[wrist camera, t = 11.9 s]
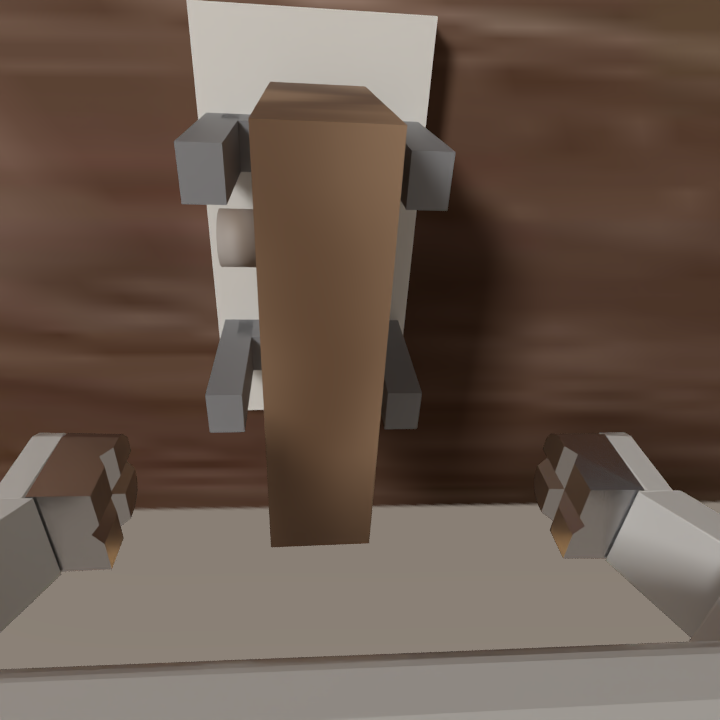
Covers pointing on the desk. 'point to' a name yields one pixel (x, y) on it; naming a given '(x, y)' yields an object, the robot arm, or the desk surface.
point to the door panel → (320, 297)
